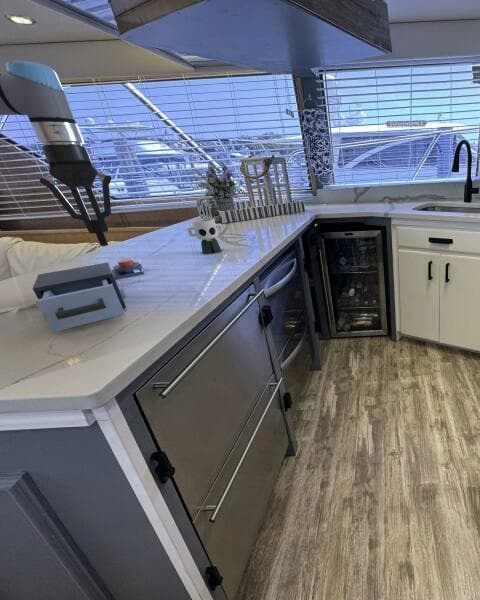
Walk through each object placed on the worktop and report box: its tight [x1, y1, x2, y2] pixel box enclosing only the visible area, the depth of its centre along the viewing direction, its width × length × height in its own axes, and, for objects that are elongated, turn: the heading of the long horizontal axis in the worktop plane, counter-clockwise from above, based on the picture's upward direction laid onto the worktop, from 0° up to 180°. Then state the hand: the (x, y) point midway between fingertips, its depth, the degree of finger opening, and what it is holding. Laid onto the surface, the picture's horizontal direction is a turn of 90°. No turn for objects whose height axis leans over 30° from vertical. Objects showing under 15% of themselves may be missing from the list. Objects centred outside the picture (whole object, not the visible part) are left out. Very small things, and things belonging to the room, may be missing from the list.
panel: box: [111, 261, 145, 281], centre depth 96 cm, size 12×10×4 cm
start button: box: [117, 258, 135, 267], centre depth 96 cm, size 4×4×2 cm
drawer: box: [35, 278, 125, 333], centre depth 68 cm, size 17×11×7 cm, turn 43°
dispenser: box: [32, 262, 127, 309], centre depth 75 cm, size 14×13×9 cm
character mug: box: [187, 218, 224, 255], centre depth 116 cm, size 11×7×13 cm, turn 128°
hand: (104, 245), depth 83 cm, fingers closed
